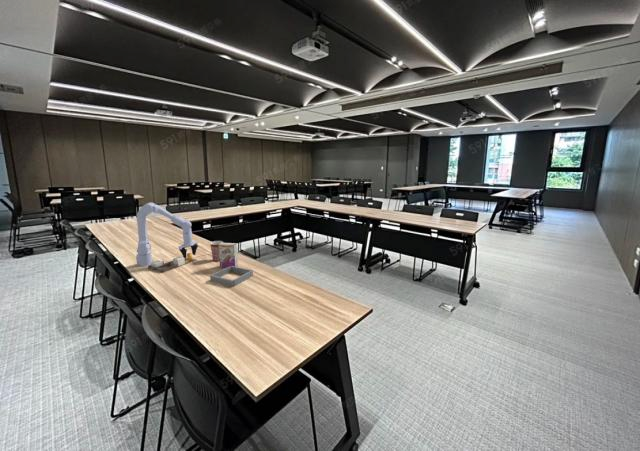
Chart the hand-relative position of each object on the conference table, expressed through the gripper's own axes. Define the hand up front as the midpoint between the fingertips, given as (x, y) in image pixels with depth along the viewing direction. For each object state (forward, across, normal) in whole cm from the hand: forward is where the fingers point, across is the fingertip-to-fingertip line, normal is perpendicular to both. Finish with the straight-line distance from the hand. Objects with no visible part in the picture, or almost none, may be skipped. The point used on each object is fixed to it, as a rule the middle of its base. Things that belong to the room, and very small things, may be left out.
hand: (189, 256), depth 195 cm
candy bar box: (+4, +5, -32) cm, 33 cm away
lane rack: (+4, -10, +4) cm, 12 cm away
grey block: (+3, -20, +7) cm, 21 cm away
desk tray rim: (+4, -9, -48) cm, 49 cm away
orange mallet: (+3, -5, 0) cm, 6 cm away
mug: (+4, +13, -16) cm, 21 cm away
